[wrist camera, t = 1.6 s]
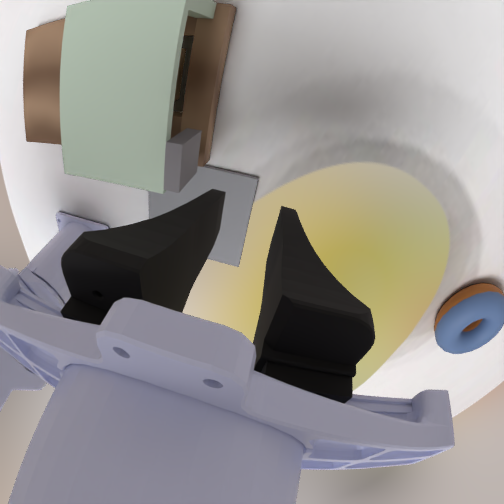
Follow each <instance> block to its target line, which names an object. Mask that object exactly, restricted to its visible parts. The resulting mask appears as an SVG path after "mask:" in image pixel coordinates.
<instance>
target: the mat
mask: <svg viewBox="0 0 504 504" xmlns="http://www.w3.org/2000/svg"><path fill="white" fill-rule="evenodd" d="M258 179H259V178H258V177H254V176H250V175H246V174H241V173H237V172H233V171H229V170H224V169H220V168H215V167H211V166H206V165H205V166H204V167H200V166H197V173H196V174H195V175H194V176H193V177H192V179H191V180H190V181H189V182H188V183H187V184H186V186H185V187H184V188H183V189H182V190H181V191H180V193H176V192H171V191H166V192H165V193H164V194H161V193H156V192H152V191H149V219H151V218H154V217H157V216H159V215H162V214H164V213H167V212H169V211H171V210H173V209H175V208H177V207H179V206H181V205H184V204H186V203H187V202H189V201H191V200H193V199H195V198H197V197H198V196H200V195H202V194H204V193H205V192H207V191H209V190H211V189H216V190H220V191H224V192H226V194H225V201H224V207H223V213H222V220H221V226H220V231H219V234H218V236H217V239H216V241H215V244H214V247H213V249H212V251H211V252H210V254H209V256H208V258H207V259H211V260H215V261H218V262H222V263H225V264H229V265H233V266H237V267H239V264H240V259H241V255H242V250H243V245H244V241H245V236H246V232H247V227H248V223H249V219H250V214H251V210H252V205H253V201H254V196H255V192H256V187H257V183H258Z"/></svg>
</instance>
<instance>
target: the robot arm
mask: <svg viewBox="0 0 504 504" xmlns="http://www.w3.org/2000/svg"><path fill="white" fill-rule="evenodd" d="M225 194H226V192H224V191H220V190H216V189H211V190H209V191H207V192H205V193H204V194H202V195H200V196H198V197H197V198H195V199H193V200H191V201H189V202H187V203H186V204H184V205H181V206H179V207H177V208H175V209H173V210H171V211H169V212H167V213H164V214H162V215H159V216H157V217H154V218H151V219H148V220H145V221H141V222H138V223H134V224H131V225H126V226H122V227H117V228H111V229H109V228H108V226H106V225H103V224H99V223H96V222H92V221H89V220H86V219H82V218H79V217H75V216H72V215H68V214H65V213H61V212H58V213H56V219H57V223H58V228H59V232H58V233H57V234H56V235H55V236H54V237H53V238H52V239H51V240H50V241H49V242H48V244H47V245H46V246H45V247H44V248H43V249H42V250H41V251H40V252H39V253H38V254H37V255H36V256H35V257H34V258H33V260H32V261H31V262H30V263H29V264H28V265H27V266H26V267H25V268H24V269H23V270H22V271H21V272H20V273H19V271H18V269H17V268H14V269H13V268H9V269H6V268H4V267H3V266H1V265H0V411H1V409H2V407H3V405H4V404H5V402H6V400H7V398H8V396H9V395H10V393H11V391H12V390H41V389H42V388H43V387H45V386H46V384H47V383H49V384H50V385H51V386H53V387H55V390H54V392H53V394H52V396H51V398H50V400H49V402H48V405H47V406H46V408H45V411H44V413H43V415H42V417H41V419H40V421H39V424H38V426H37V428H36V430H35V432H34V435H33V437H32V440H31V442H30V444H29V447H28V449H27V451H26V454H25V457H24V459H23V462H22V464H21V467H20V470H19V472H18V475H17V478H16V481H15V484H14V487H13V490H12V493H11V496H10V499H9V502H8V504H296V498H297V493H298V486H299V479H300V473H301V469H309V470H339V469H361V468H375V467H387V466H396V465H407V464H414V463H417V462H419V461H422V460H425V459H427V458H429V457H432V456H434V455H437V454H439V453H441V452H443V451H446V450H448V449H450V448H452V447H453V446H454V445H455V443H454V432H453V423H452V414H451V407H450V400H449V394H448V391H447V390H425V391H422V392H420V393H418V394H417V395H416V396H414V397H413V398H412V399H402V398H387V397H375V396H365V395H356V394H352V377H354V376H355V375H356V364H357V363H358V362H359V361H360V359H362V358H363V356H364V355H365V354H366V353H367V352H368V351H369V350H370V349H371V347H372V346H373V344H374V340H375V331H374V324H373V318H372V314H371V310H370V308H368V307H367V306H366V305H365V304H363V303H362V302H361V301H360V300H358V299H357V298H356V297H354V296H353V295H352V294H351V293H350V292H349V291H348V290H347V289H346V288H345V287H343V286H342V284H341V283H340V282H339V281H338V280H336V278H335V277H334V276H333V275H332V274H331V272H330V271H329V270H328V269H327V268H326V266H325V265H324V264H323V262H322V261H321V260H320V258H319V257H318V255H317V254H316V252H315V251H314V249H313V247H312V246H311V244H310V242H309V240H308V238H307V236H306V234H305V232H304V229H303V227H302V225H301V223H300V220H299V217H298V214H297V212H296V210H294V209H291V208H287V207H283V206H281V210H280V213H279V217H278V220H277V224H276V227H275V231H274V234H273V237H272V241H271V244H270V249H269V253H268V258H267V262H266V271H265V280H264V289H263V298H262V305H261V311H260V315H259V320H258V324H257V328H256V332H255V337H254V341H253V343H252V342H251V341H250V340H249V339H248V338H246V336H244V335H243V334H242V333H241V332H239V331H236V330H234V329H232V328H230V327H227V326H225V325H221V324H218V323H214V322H211V321H208V320H204V319H201V318H197V317H194V316H191V315H187V314H184V313H182V311H183V309H184V306H185V304H186V301H187V298H188V296H189V293H190V290H191V288H192V286H193V284H194V282H195V280H196V278H197V276H198V274H199V273H200V271H201V269H202V267H203V265H204V264H205V262H206V260H207V258H208V256H209V254H210V252H211V251H212V249H213V247H214V244H215V241H216V239H217V236H218V234H219V231H220V226H221V220H222V213H223V207H224V201H225ZM18 273H19V274H18Z"/></svg>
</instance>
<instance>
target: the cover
mask: <svg viewBox="0 0 504 504" xmlns="http://www.w3.org/2000/svg"><path fill="white" fill-rule="evenodd" d="M216 4H217V3H216V2H214V1H212V0H89V1H84V2H81V3H77V4H73V5H70V6H67V11H66V17H65V24H64V32H63V41H62V51H61V66H60V128H61V143H62V154H63V164H64V172H65V174H69V175H75V176H80V177H85V178H90V179H95V180H100V181H105V182H110V183H115V184H119V185H124V186H129V187H133V188H138V189H143V190H147V191H152V192H156V193H161V194H164V193H165V192H166V191H171V192H176V193H180V191H181V190H182V189H183V188H184V187H185V186H186V184H187V183H188V182H189V181H190V180H191V179H192V177H193V176H194V175H195V174H196V173H197V166H198V157H199V149H200V141H201V133H202V130H196V129H190V128H186V129H185V130H183V131H182V132H180V133H179V134H177V135H176V136H174V137H173V138H171V127H172V117H173V107H174V98H175V90H176V82H177V75H178V68H179V61H180V55H181V48H182V43H183V37H184V31H185V26H186V21H187V16H191V17H194V18H208V19H213V18H214V13H215V9H216Z"/></svg>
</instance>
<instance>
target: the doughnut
mask: <svg viewBox="0 0 504 504" xmlns="http://www.w3.org/2000/svg"><path fill="white" fill-rule="evenodd" d="M503 324H504V294H503V292H502V291H501V289H499V288H498V287H496V286H495V285H493V284H487V283H480V284H475V285H471V286H469V287H467V288H464V289H462V290H460V291H459V292H458V293H456V294H455V295H453V296H452V297H451V298H450V299H449V300H448V301H447V302H446V303H445V304H444V305H443V306H442V308H441V310H440V311H439V313H438V314H437V317H436V321H435V325H434V331H435V337H436V342H437V344H438V345H439V346H440V347H441V348H442V349H443V350H444V351H446V352H449V353H453V354H462V353H466V352H470V351H473V350H475V349H477V348H480V347H481V346H483V345H484V344H486V343H488V342H489V341H490V340H491V339H492V338H493V337H494V336H496V334H497V333H498V332H499V331H500V330H501V328H502V326H503Z"/></svg>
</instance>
